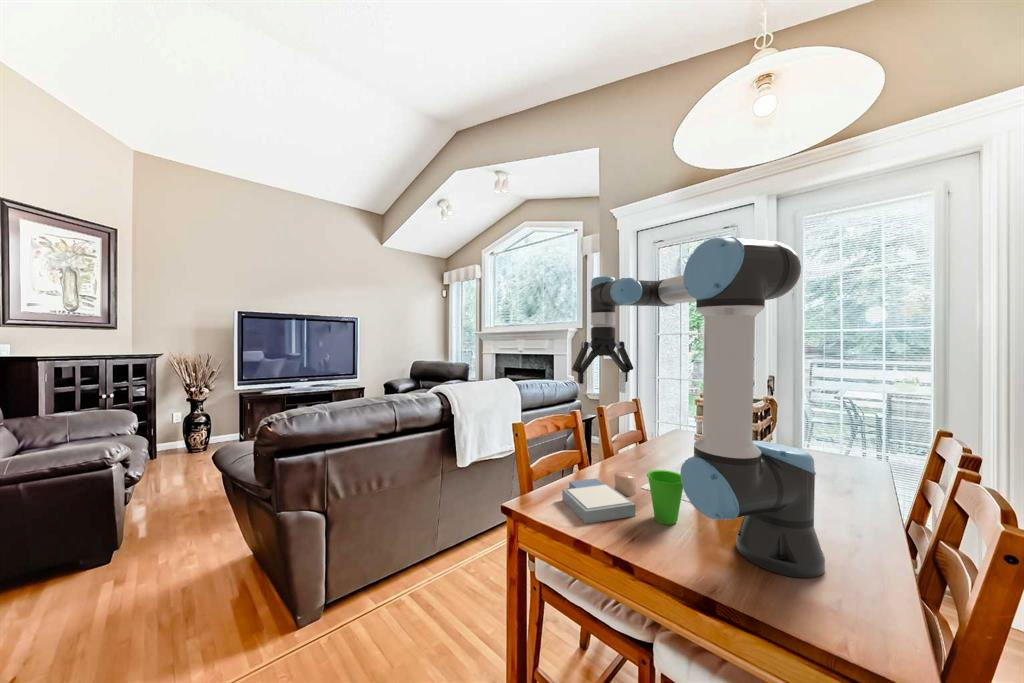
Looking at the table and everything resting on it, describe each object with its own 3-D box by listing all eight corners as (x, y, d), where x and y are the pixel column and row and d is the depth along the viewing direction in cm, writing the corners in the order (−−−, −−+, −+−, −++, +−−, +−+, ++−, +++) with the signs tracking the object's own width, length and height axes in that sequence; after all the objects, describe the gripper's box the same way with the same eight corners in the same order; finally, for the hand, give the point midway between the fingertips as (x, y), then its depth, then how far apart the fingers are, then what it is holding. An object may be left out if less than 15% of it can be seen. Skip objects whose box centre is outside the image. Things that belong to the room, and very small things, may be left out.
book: (606, 493, 113) (606, 485, 113) (578, 497, 111) (578, 489, 111) (596, 486, 119) (596, 478, 119) (569, 489, 117) (569, 481, 116)
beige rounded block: (640, 494, 111) (640, 477, 111) (621, 497, 110) (621, 480, 110) (628, 487, 117) (628, 470, 117) (610, 489, 116) (610, 472, 115)
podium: (635, 515, 98) (635, 503, 98) (585, 523, 94) (585, 510, 94) (606, 494, 112) (606, 483, 112) (562, 500, 108) (562, 488, 108)
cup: (692, 529, 92) (692, 483, 91) (653, 528, 92) (653, 483, 92) (676, 511, 101) (677, 469, 100) (641, 511, 101) (641, 469, 101)
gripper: (631, 326, 129) (631, 390, 130) (561, 326, 123) (561, 393, 123) (644, 326, 122) (644, 393, 122) (571, 326, 116) (571, 396, 116)
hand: (603, 393), depth 123 cm, fingers open, 13 cm apart
